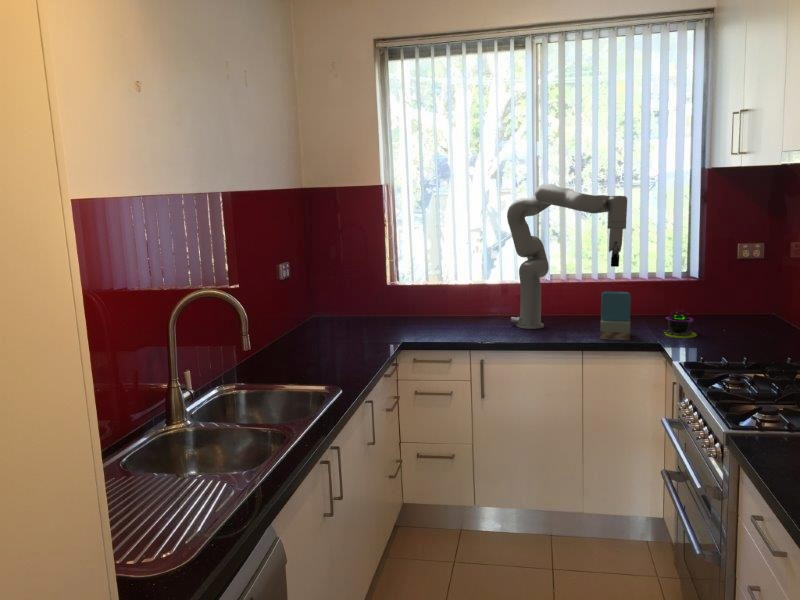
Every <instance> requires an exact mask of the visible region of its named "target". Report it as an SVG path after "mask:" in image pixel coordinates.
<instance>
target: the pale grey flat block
mask: <svg viewBox="0 0 800 600" xmlns="http://www.w3.org/2000/svg"><path fill="white" fill-rule="evenodd" d="M599 324H600V327H599V328H600V329H599V330H600V332H601V331H603V332H623V333H630V334H631V318H630V319H629V320H628V321H610V320H602V318H601V317H600V323H599Z"/></svg>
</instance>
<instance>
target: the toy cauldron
mask: <svg viewBox="0 0 800 600" xmlns="http://www.w3.org/2000/svg"><path fill="white" fill-rule="evenodd" d="M676 310H677V311H675V313H676V315H675V314H674V315H672V312H669V313H670V315H671V316H670V315H669V316H666V317H665V319H666V320H668V322H667V323H668V327H669V329H667V331H666V332H664V333H665V335H666V336H665V337H668V336H669V337H670V338H679V339H691V338H695V337H697V336H698V335H697V333H695V332H693V331H692V330H688V329H689V328H690V326H691V325H690V323H693V322H694V320H693V318H692V317H688V316H686V315H683V314H681V315H677V313H678V312H679V310H678V309H676ZM683 311H684V309H682V310H681V312H683ZM684 313H687V315H690V313H688V312H685V311H684Z"/></svg>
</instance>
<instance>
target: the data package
mask: <svg viewBox="0 0 800 600" xmlns="http://www.w3.org/2000/svg"><path fill="white" fill-rule="evenodd" d="M600 297H601V302H600V304H601V305H600V319H601V318H602V320H610V321H628V320H629V319H630V320H631V305H632V303H631V301H632V295H631V293H630V292H628V291H602V293H601V296H600Z"/></svg>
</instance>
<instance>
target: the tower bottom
mask: <svg viewBox="0 0 800 600" xmlns="http://www.w3.org/2000/svg"><path fill="white" fill-rule="evenodd" d="M599 338H600V339H626V340H630V341H631V332H630V333H623V332H603V331H600V337H599Z"/></svg>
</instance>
